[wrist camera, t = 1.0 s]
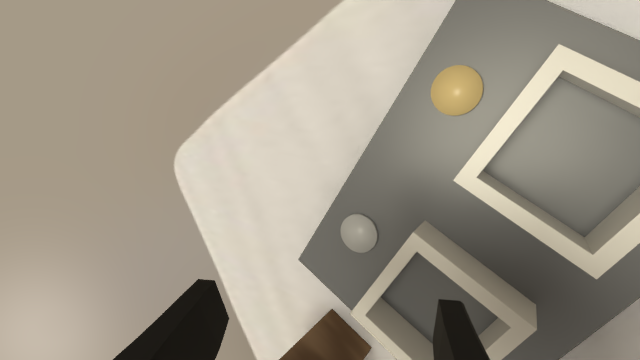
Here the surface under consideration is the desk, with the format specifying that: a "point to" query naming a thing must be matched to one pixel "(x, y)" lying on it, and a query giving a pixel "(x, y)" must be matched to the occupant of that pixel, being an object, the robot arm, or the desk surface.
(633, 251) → the socket board
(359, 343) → the walnut peg
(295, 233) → the desk surface
